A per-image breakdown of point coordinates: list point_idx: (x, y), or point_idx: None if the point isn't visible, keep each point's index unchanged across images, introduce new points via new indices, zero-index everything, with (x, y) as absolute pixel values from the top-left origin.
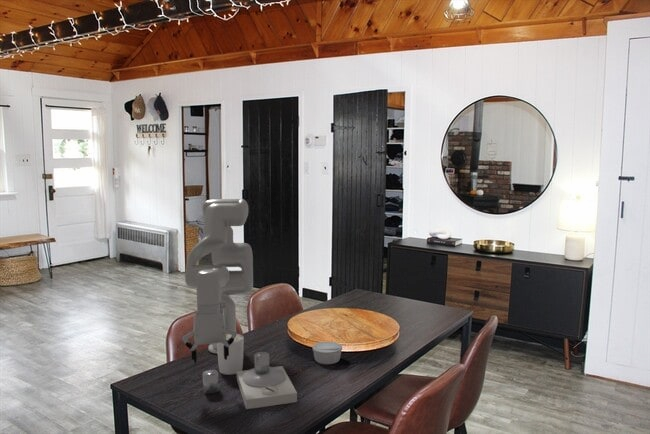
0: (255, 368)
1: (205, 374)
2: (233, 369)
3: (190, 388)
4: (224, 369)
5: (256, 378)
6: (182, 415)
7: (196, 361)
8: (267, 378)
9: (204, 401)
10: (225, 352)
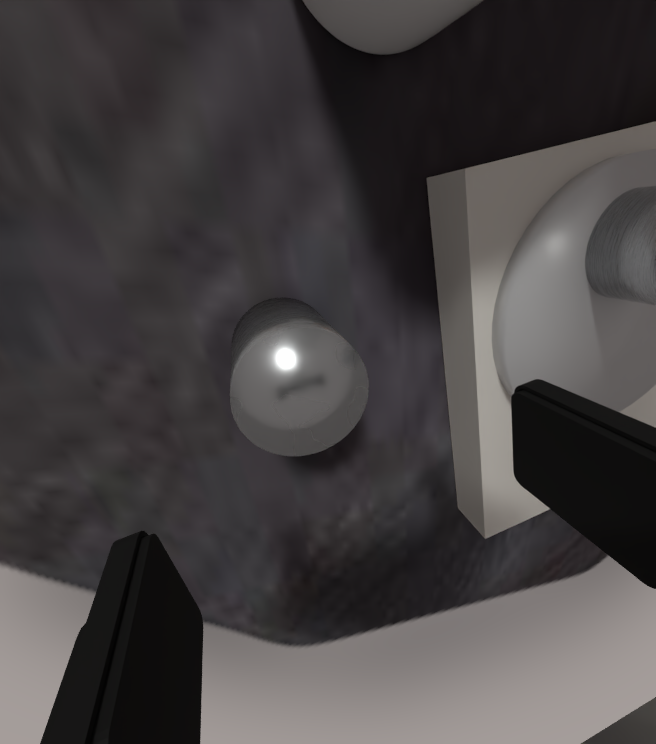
0: (623, 280)
1: (265, 421)
2: (426, 35)
3: (112, 310)
4: (348, 18)
5: (574, 355)
6: (196, 599)
7: (201, 631)
8: (624, 352)
9: (268, 471)
10: (601, 541)
